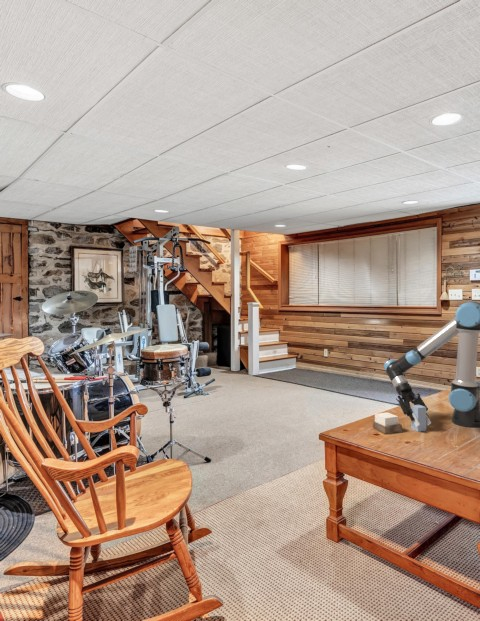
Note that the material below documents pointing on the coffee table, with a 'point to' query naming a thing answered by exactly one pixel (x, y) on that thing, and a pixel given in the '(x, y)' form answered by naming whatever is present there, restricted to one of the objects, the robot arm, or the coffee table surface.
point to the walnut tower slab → (387, 428)
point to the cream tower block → (386, 419)
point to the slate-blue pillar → (419, 417)
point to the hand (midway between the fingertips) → (423, 425)
